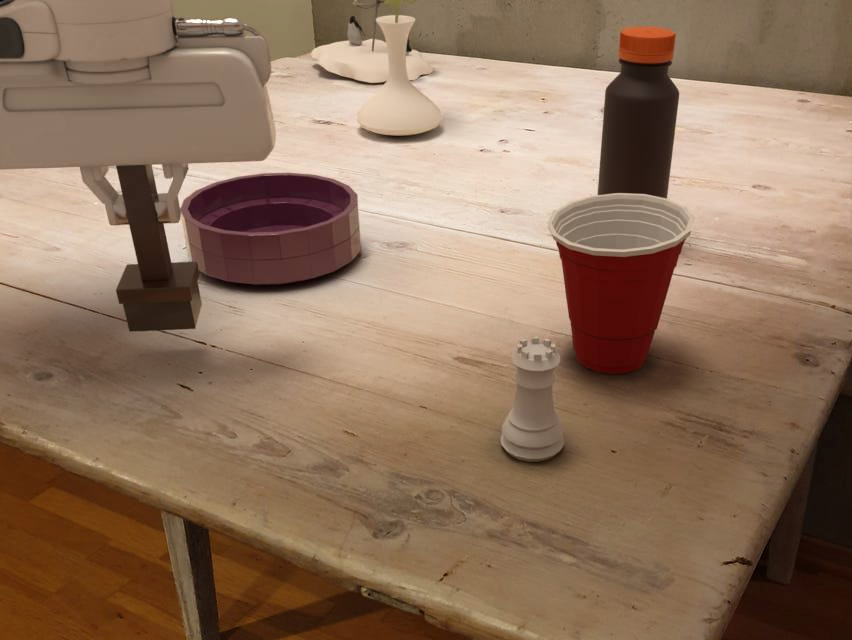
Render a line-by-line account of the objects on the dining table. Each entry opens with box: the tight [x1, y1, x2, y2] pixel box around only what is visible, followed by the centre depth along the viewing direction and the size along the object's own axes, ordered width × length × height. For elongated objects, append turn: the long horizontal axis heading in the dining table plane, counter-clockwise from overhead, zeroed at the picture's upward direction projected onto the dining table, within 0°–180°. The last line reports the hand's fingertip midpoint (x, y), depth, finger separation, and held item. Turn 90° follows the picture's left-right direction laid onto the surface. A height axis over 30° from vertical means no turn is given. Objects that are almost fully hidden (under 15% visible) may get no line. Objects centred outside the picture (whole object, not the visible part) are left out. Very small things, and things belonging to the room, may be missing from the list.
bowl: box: [180, 172, 362, 286], centre depth 93 cm, size 16×16×6 cm
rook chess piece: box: [500, 336, 565, 463], centre depth 65 cm, size 4×4×8 cm
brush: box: [115, 165, 203, 333], centre depth 72 cm, size 5×4×13 cm
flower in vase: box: [355, 0, 444, 137], centre depth 122 cm, size 13×11×25 cm
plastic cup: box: [546, 193, 695, 375], centre depth 75 cm, size 11×11×12 cm
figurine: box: [309, 0, 434, 84], centre depth 151 cm, size 20×18×16 cm
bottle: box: [596, 26, 680, 199], centre depth 92 cm, size 7×7×20 cm
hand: (145, 221), depth 71 cm, fingers closed on brush, 2 cm apart
